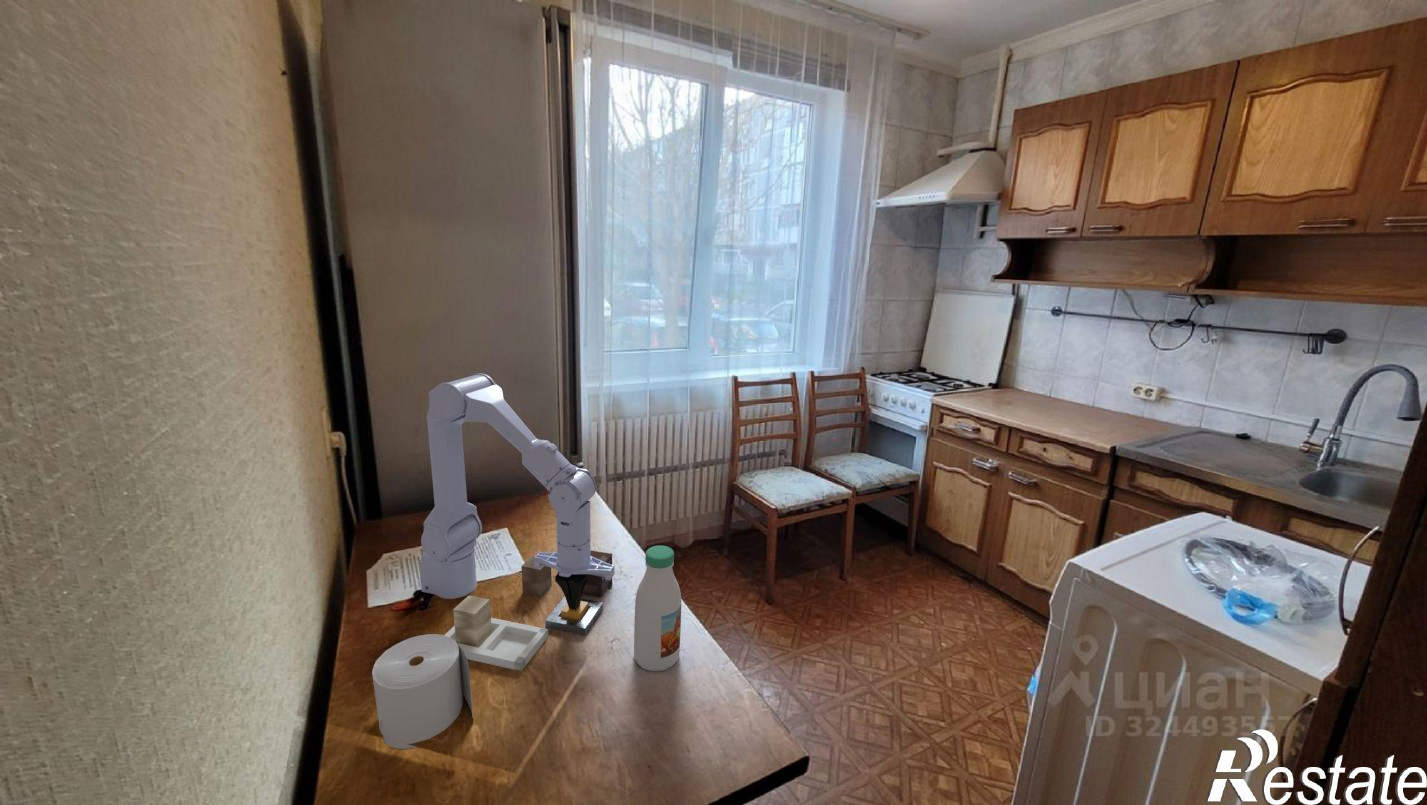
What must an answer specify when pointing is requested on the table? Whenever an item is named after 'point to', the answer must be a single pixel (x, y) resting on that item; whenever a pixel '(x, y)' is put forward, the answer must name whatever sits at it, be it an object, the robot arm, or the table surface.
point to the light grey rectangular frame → (506, 644)
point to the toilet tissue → (420, 688)
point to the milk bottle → (657, 612)
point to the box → (598, 578)
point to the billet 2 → (535, 578)
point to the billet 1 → (472, 621)
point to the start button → (575, 611)
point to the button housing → (572, 625)
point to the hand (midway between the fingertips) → (574, 605)
